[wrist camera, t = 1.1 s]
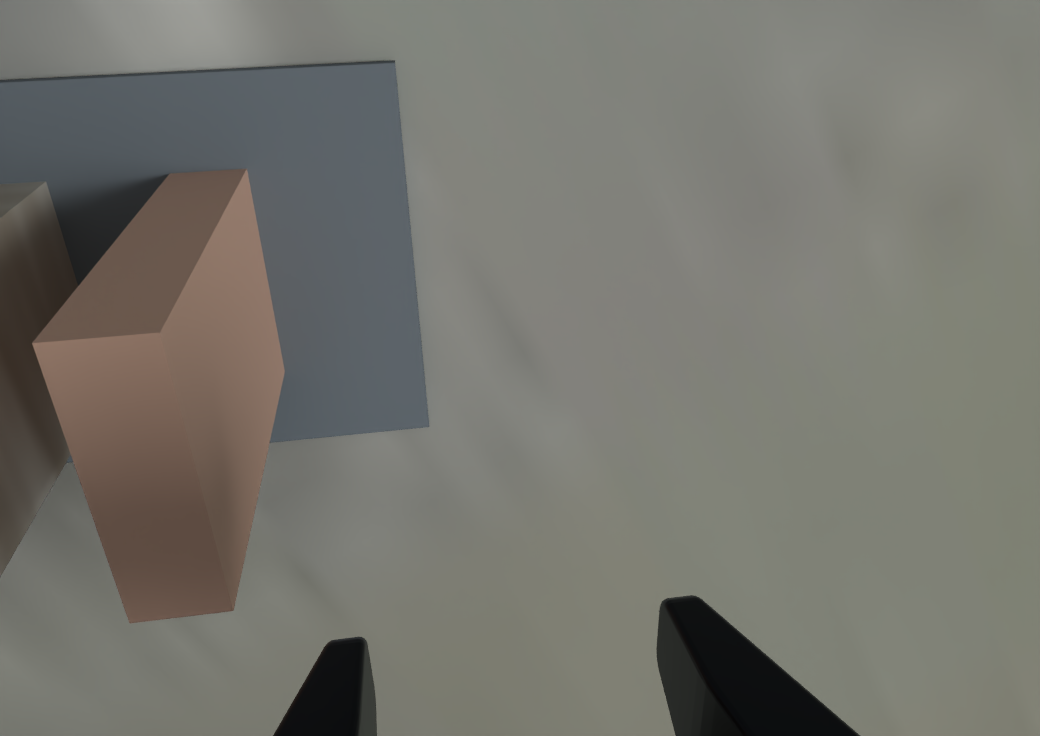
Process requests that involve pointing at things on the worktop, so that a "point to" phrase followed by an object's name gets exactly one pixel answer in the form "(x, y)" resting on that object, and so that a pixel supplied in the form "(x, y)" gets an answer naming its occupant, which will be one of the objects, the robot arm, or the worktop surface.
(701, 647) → the robot arm
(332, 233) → the mat
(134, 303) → the domino
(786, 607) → the worktop surface
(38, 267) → the domino
